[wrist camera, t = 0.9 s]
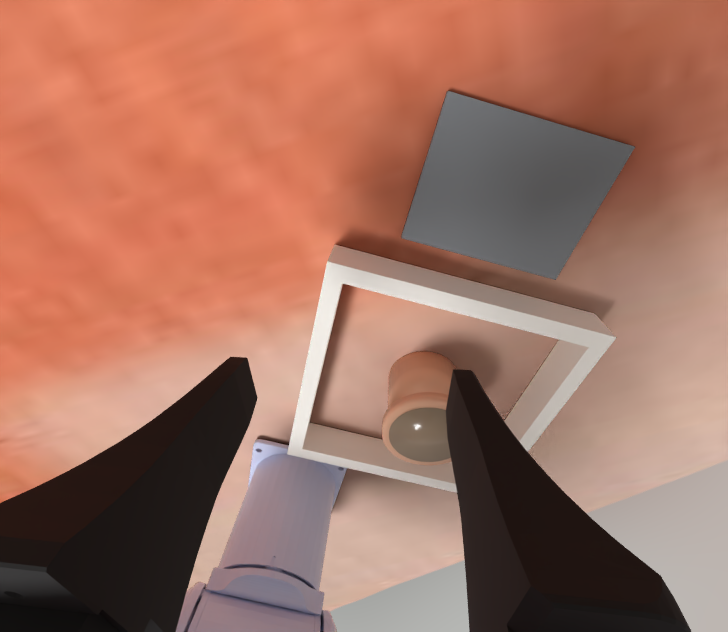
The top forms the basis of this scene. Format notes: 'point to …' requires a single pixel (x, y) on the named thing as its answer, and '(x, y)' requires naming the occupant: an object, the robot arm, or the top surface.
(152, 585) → the robot arm
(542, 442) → the top surface
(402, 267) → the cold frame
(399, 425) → the terracotta pot
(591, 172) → the slate mat
